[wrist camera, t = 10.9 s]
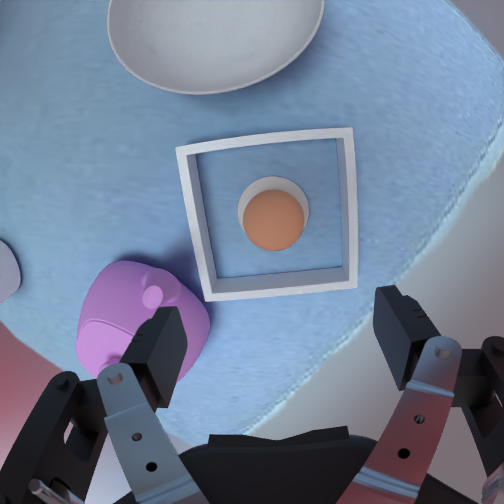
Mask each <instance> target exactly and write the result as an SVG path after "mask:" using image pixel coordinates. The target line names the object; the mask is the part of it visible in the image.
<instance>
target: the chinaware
mask: <svg viewBox="0 0 504 504" xmlns="http://www.w3.org/2000/svg"><path fill="white" fill-rule="evenodd" d="M324 4H325V0H110V3H109V7H108V12H107V33H108V38H109V42H110V45H111V47H112V49H113V52H114V54H115V55H116V57H117V58H118V60H119V61H120V63H121V64H122V65H123V66H124V67H125V68H126V69H127V70H128V71H129V72H130V73H131V74H133V75H134V76H135V77H137V78H138V79H140V80H141V81H143V82H145V83H147V84H149V85H151V86H153V87H156V88H159V89H162V90H165V91H169V92H174V93H179V94H189V95H210V94H219V93H225V92H230V91H235V90H239V89H242V88H245V87H248V86H251V85H254V84H256V83H259V82H261V81H263V80H265V79H267V78H269V77H271V76H273V75H274V74H276V73H278V72H279V71H281V70H282V69H284V68H285V67H286V66H288V65H289V64H290V63H291V62H293V61H294V60H295V59H296V58H297V57H298V56H299V55H300V54H301V53H302V52H303V51H304V50H305V48H306V47H307V46H308V45H309V43H310V42H311V40H312V39H313V37H314V36H315V34H316V32H317V30H318V28H319V25H320V23H321V20H322V17H323V12H324Z"/></svg>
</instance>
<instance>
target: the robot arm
mask: <svg viewBox="0 0 504 504" xmlns="http://www.w3.org/2000/svg"><path fill="white" fill-rule="evenodd" d="M373 327H374V333H375V335H376V338H377V340H378V342H379V345H380V347H381V349H382V351H383V354H384V356H385V358H386V361H387V363H388V366H389V368H390V370H391V373H392V375H393V378H394V380H395V382H396V385H397V387H398V390H399V391H402V390H404V392H403V394H402V396H401V398H400V400H399V402H398V404H397V406H396V408H395V410H394V412H393V415H392V416H391V418H390V420H389V422H388V424H387V426H386V428H385V430H384V431H383V433H382V435H381V437H380V439H379V440H378V441H376V440H373V439H370V438H367V437H363V436H357V435H349V432H348V428H347V426H341V427H334V428H327V429H319V430H312V431H310V432H306V433H303V434H300V435H296V436H294V437H289V438H286V439H282V440H270V439H263V438H258V437H253V436H247V435H215V434H210V436H209V441H208V444H203V445H200V446H196V447H194V448H191V449H189V450H187V451H185V452H183V453H181V454H178V452H177V451H176V449H175V447H174V446H173V444H172V443H171V441H170V439H169V437H168V436H167V434H166V432H165V431H164V429H163V427H162V425H161V423H160V422H159V420H158V418H157V416H156V414H155V412H156V409H157V408H168V406H169V403H170V400H171V397H172V394H173V391H174V388H175V385H176V382H177V379H178V376H179V373H180V370H181V366H182V363H183V361H184V358H185V355H186V352H187V346H188V342H187V336H186V332H185V329H184V326H183V322H182V319H181V316H180V312H179V309H178V307H177V306H164V307H158V308H157V310H156V312H155V313H154V315H153V317H152V319H147V320H146V321H145V322H144V323H143V324H141V325H140V326H139V328H138V330H137V331H136V333H135V336H134V337H133V338H132V340H131V342H130V343H129V345H128V347H127V349H126V351H125V352H124V354H123V356H122V358H121V359H120V361H119V363H115V364H111V365H109V366H107V367H105V368H104V369H103V370H102V371H101V372H100V373H99V374H98V377H97V379H92V380H86V381H80V379H79V378H78V376H77V374H76V373H74V372H71V371H65V372H61V373H59V374H57V375H56V376H54V377H53V378H52V379H51V380H50V382H49V383H48V385H47V387H46V388H45V390H44V391H43V393H42V395H41V396H40V398H39V400H38V402H37V403H36V405H35V406H34V408H33V410H32V412H31V413H30V415H29V417H28V419H27V420H26V422H25V424H24V426H23V428H22V430H21V431H20V433H19V435H18V437H17V439H16V441H15V443H14V444H13V446H12V448H11V450H10V452H9V454H8V456H7V458H6V460H5V462H4V464H3V466H2V468H1V470H0V504H85V503H84V502H85V499H86V495H87V492H88V489H89V486H90V483H91V480H92V476H93V474H94V471H95V467H96V465H97V462H98V459H99V456H100V453H101V450H102V448H103V444H104V442H105V439H106V436H107V434H108V433H109V436H110V438H111V441H112V444H113V447H114V449H115V452H116V455H117V457H118V460H119V462H120V465H121V467H122V469H123V472H124V474H125V477H126V479H127V481H128V483H129V486H130V488H131V490H132V491H131V492H129V493H128V494H126V495H125V496H123V497H122V498H121V499H119V500H118V501H116V502H115V503H113V504H478V503H477V502H475V501H474V500H472V499H470V498H468V497H466V496H465V495H463V494H461V493H459V492H458V491H456V490H454V489H453V488H451V487H449V486H448V485H446V484H444V483H443V482H441V481H439V480H438V479H436V478H434V477H432V476H431V475H430V474H428V473H427V471H428V469H429V466H430V464H431V462H432V459H433V457H434V454H435V452H436V449H437V446H438V444H439V441H440V438H441V436H442V433H443V430H444V427H445V424H446V421H447V418H448V415H449V412H450V408H451V407H461V408H462V411H463V413H464V415H465V418H466V420H467V423H468V425H469V427H470V430H471V433H472V435H473V438H474V440H475V443H476V446H477V449H478V451H479V454H480V457H481V460H482V463H483V466H484V468H485V472H486V475H487V479H486V481H485V482H484V484H483V487H482V499H481V503H482V504H504V338H502V337H499V336H492V337H488V338H487V339H485V340H484V342H483V344H482V347H481V349H462V348H461V345H460V344H459V343H458V342H457V341H456V340H454V339H452V338H450V337H446V336H441V334H440V333H439V332H438V330H437V329H436V327H435V326H434V324H433V323H432V321H431V320H430V319H429V317H428V316H427V314H426V313H425V312H424V310H422V307H421V306H420V305H419V303H418V302H417V301H416V300H414V299H413V298H411V297H410V296H408V295H406V296H402V294H401V293H400V291H399V290H398V288H397V287H396V286H395V285H390V286H383V287H377V288H376V292H375V304H374V315H373ZM496 394H497V396H498V398H499V400H500V401H501V403H502V407H501V405H500V403H499V401H498V399H497V397H496ZM502 408H503V409H502ZM70 421H71V423H72V424H73V425H74V426H73V428H72V430H71V433H70V435H69V437H68V439H67V441H66V444H65V443H64V433H65V431H66V428H67V426H68V424H69V422H70Z"/></svg>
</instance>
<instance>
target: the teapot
mask: <svg viewBox="0 0 504 504" xmlns="http://www.w3.org/2000/svg"><path fill="white" fill-rule="evenodd" d="M164 306H177V307H178V309H179V312H180V316H181V319H182V322H183V326H184V329H185V332H186V336H187V342H188V346H187V352H186V355H185V358H184V361H183V363H182V366H181V370H180V373H179V376H178V379H177V382H178V381H179V380H180V379H181V378H183V377H184V376H185V374H186V373H187V372H188V371H189V370H190V368H191V367H192V366H193V364H194V363H195V361H196V360H197V358H198V357H199V355H200V353H201V351H202V349H203V347H204V345H205V342H206V340H207V337H208V334H209V331H210V321H209V316H208V313H207V311H206V309H205V307H204V306H203V304H202V303H201V301H200V300H199V299H198V298H197V297H196V296H195V295H194V294H193V293H192V292H191V291H190V290H189V289H188V288H187V287H186V286H184V285H183V284H182V283H181V282H179V281H178V280H177V278H176V277H175V276H174V275H172V274H171V273H170V272H168V271H166V270H164V269H161V268H154V267H151V266H149V265H146V264H142V263H138V262H133V261H117V262H114V263H111V264H109V265H108V266H106V267H105V268H104V269H103V270H102V271H101V272H100V273H99V275H98V276H97V278H96V279H95V281H94V283H93V284H92V286H91V288H90V290H89V292H88V294H87V296H86V298H85V301H84V303H83V306H82V309H81V314H80V318H79V324H78V331H77V343H76V354H77V357H78V359H79V361H80V363H81V364H82V366H83V367H84V368H85V369H86V370H87V371H88V372H89V373H90V374H91V375H93V376H94V377H95V378H96V379H97V377H98V374H99V373H100V372H101V371H102V370H103V369H104V368H105V367H107V366H109V365H111V364H115V363H119V361H120V359H121V358H122V356H123V354H124V352H125V351H126V349H127V347H128V345H129V343H130V342H131V340H132V338H133V337H134V336H135V333H136V331H137V330H138V328H139V326H140V325H141V324H143V323H144V322H145V321H146V320H147V319H152V317H153V315H154V313H155V312H156V310H157V308H158V307H164ZM177 382H176V383H177Z"/></svg>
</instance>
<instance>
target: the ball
mask: <svg viewBox="0 0 504 504" xmlns="http://www.w3.org/2000/svg"><path fill="white" fill-rule="evenodd" d="M243 226H244V230H245V232H246V234H247V236H248V238H249V239H250V240H251V241H252V242H253V243H254V244H255V245H256V246H258V247H260V248H262V249H264V250H268V251H279V250H283V249H286V248H288V247H290V246H291V245H293V244H294V243H295V242H296V241H297V240H298V239H299V237H300V235H301V233H302V231H303V228H304V213H303V210H302V207H301V205H300V204H299V202H298V201H297V200H296V199H295V198H294V197H293V196H292V195H290V194H289V193H287V192H284V191H281V190H266V191H263V192H260V193H258V194H257V195H255V196H254V197H253V198H252V199H251V200H250V201H249V203H248V204H247V206H246V208H245V210H244V214H243Z"/></svg>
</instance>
